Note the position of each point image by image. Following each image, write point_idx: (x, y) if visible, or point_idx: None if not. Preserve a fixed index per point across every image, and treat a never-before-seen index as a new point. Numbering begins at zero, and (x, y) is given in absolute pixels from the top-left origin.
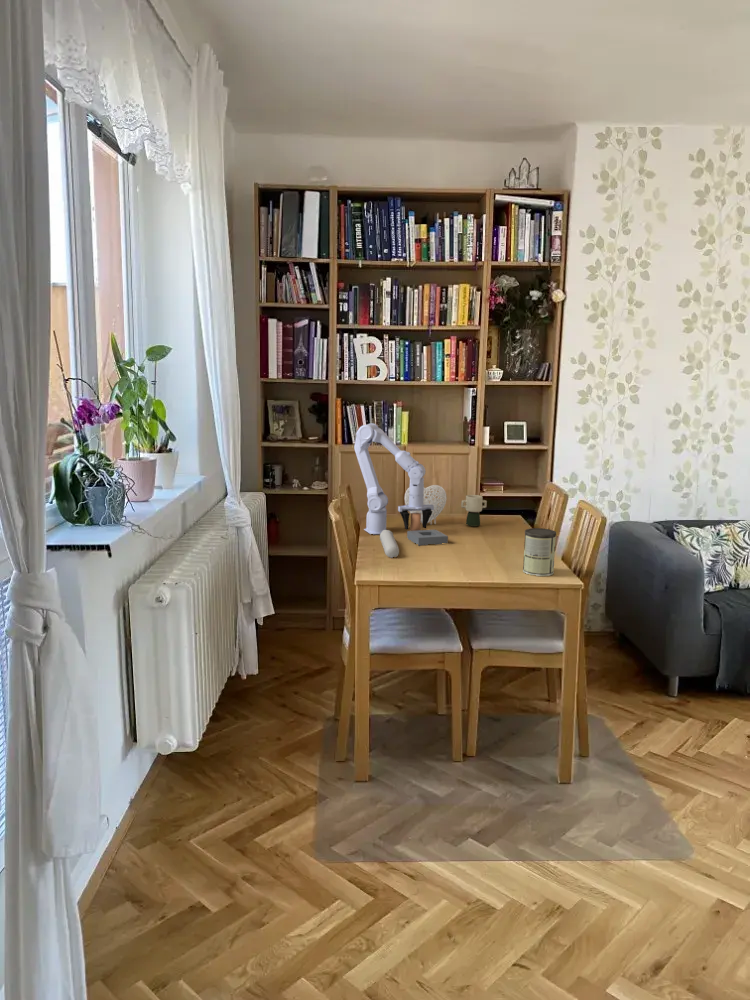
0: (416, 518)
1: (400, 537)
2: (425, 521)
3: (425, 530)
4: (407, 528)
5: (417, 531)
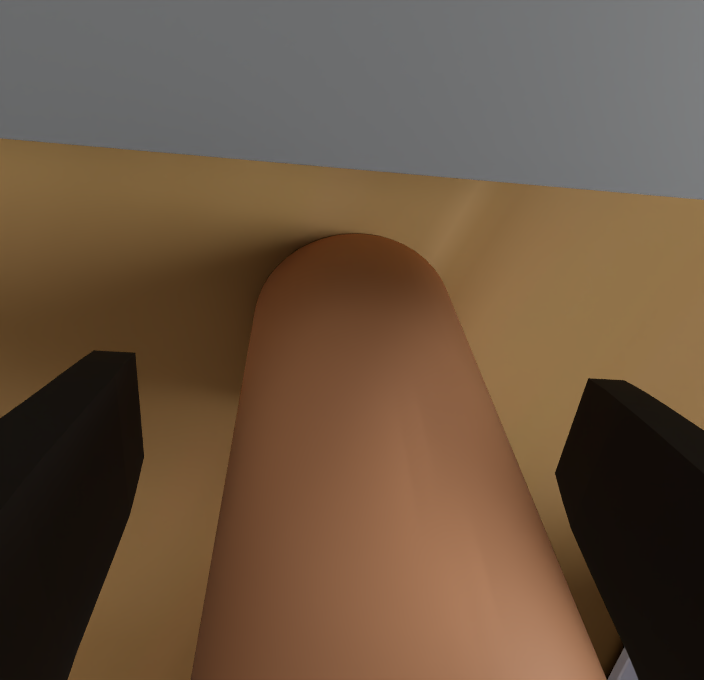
0: (475, 561)
1: (700, 281)
2: (47, 466)
3: (207, 94)
4: (621, 387)
5: (534, 40)
